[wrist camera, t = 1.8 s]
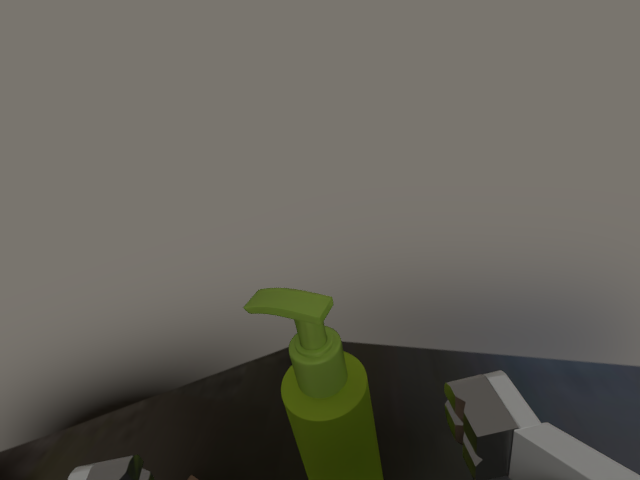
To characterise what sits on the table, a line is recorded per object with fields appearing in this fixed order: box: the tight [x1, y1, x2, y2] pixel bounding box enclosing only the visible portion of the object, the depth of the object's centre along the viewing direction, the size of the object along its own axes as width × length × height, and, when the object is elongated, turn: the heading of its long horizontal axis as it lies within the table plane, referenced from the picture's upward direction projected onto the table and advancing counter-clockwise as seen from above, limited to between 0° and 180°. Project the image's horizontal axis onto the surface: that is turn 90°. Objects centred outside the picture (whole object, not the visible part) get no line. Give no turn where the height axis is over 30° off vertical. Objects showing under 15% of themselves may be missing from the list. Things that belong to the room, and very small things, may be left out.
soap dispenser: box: [244, 288, 384, 480], centre depth 28 cm, size 6×7×20 cm
